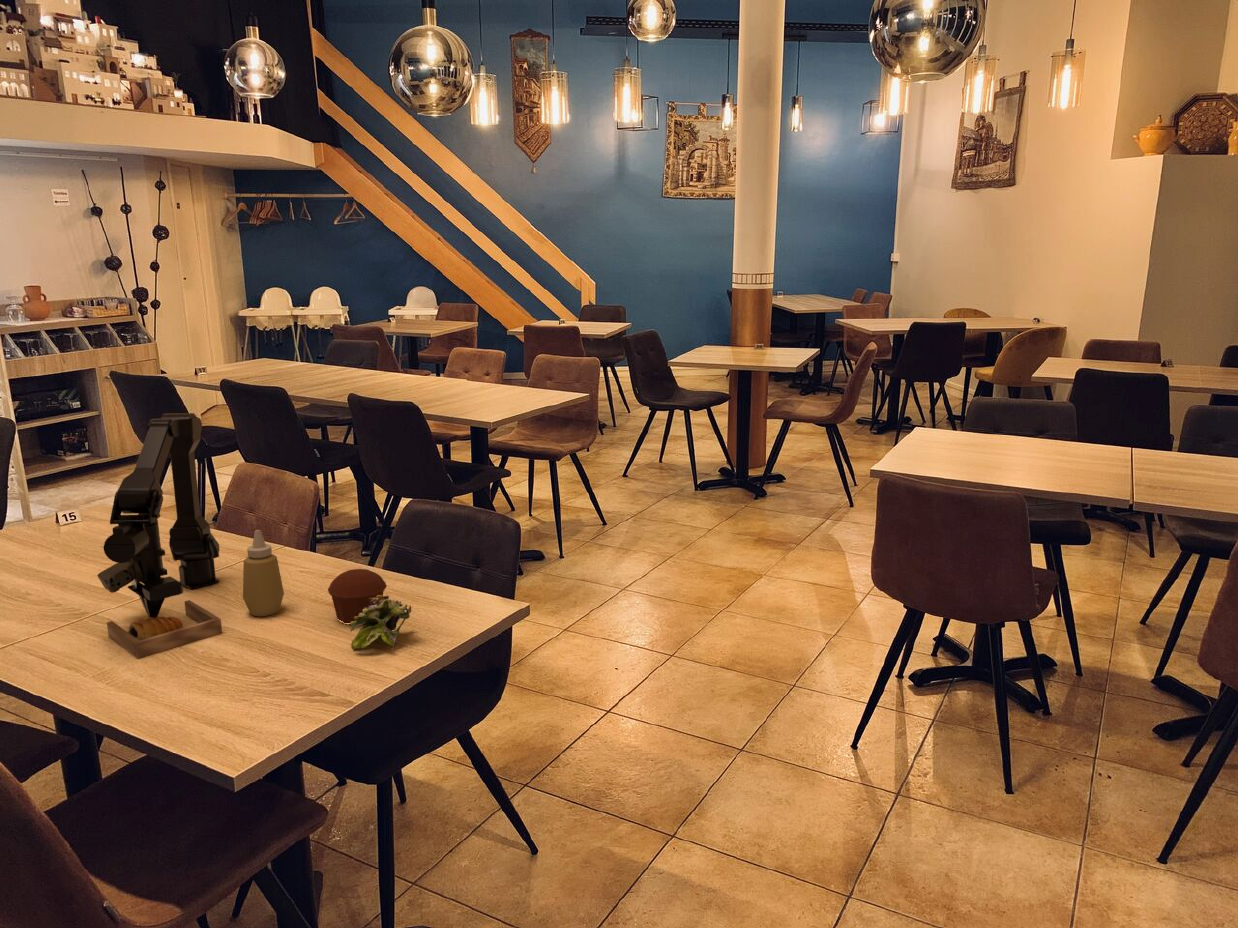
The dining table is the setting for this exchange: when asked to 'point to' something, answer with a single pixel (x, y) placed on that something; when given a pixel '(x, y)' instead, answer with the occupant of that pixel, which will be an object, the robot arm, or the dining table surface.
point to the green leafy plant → (379, 621)
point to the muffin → (355, 592)
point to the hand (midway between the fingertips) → (152, 619)
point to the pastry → (153, 627)
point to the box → (169, 633)
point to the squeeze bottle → (261, 579)
